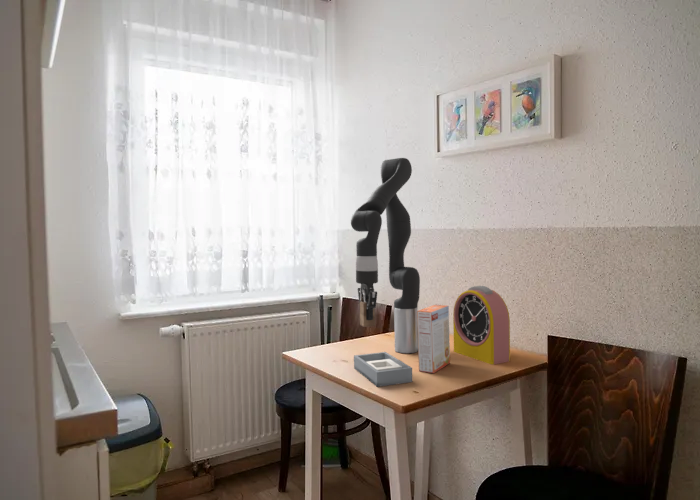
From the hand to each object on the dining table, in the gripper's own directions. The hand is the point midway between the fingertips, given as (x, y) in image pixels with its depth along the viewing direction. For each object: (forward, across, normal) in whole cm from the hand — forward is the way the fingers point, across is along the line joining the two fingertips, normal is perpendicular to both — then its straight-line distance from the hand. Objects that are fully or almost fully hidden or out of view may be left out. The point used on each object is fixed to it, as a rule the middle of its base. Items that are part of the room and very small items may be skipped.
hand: (367, 318), depth 162 cm
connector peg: (+2, 0, 0) cm, 2 cm away
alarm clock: (+17, 0, -45) cm, 48 cm away
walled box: (+18, -7, -2) cm, 19 cm away
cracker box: (+18, -6, -22) cm, 29 cm away
